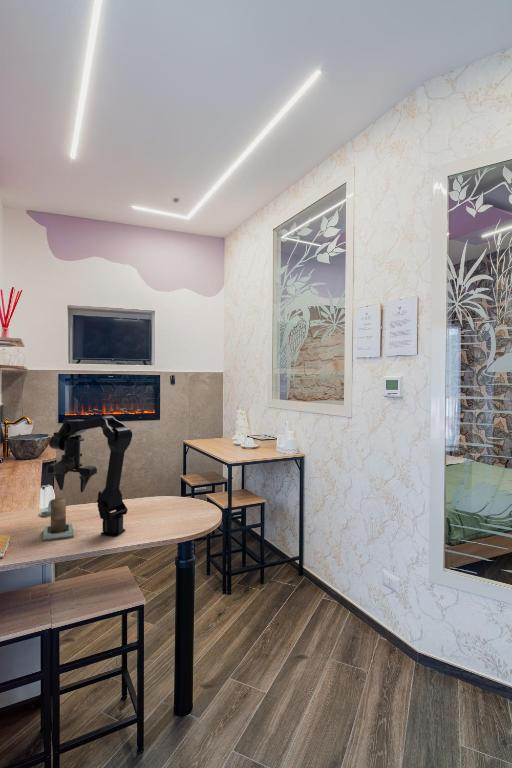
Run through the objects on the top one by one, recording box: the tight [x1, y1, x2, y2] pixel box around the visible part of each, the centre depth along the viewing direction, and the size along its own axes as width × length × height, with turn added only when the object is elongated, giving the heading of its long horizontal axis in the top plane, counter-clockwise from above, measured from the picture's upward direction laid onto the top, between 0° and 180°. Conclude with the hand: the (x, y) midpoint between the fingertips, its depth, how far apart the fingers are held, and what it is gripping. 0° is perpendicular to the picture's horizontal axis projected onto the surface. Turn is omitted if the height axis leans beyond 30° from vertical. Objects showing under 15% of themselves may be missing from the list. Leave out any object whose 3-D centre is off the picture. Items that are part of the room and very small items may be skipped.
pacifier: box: [38, 498, 53, 517], centre depth 177 cm, size 7×6×6 cm
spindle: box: [50, 497, 67, 533], centre depth 156 cm, size 5×5×12 cm
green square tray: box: [42, 522, 74, 542], centre depth 156 cm, size 10×10×2 cm
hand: (71, 491), depth 169 cm, fingers open, 9 cm apart
